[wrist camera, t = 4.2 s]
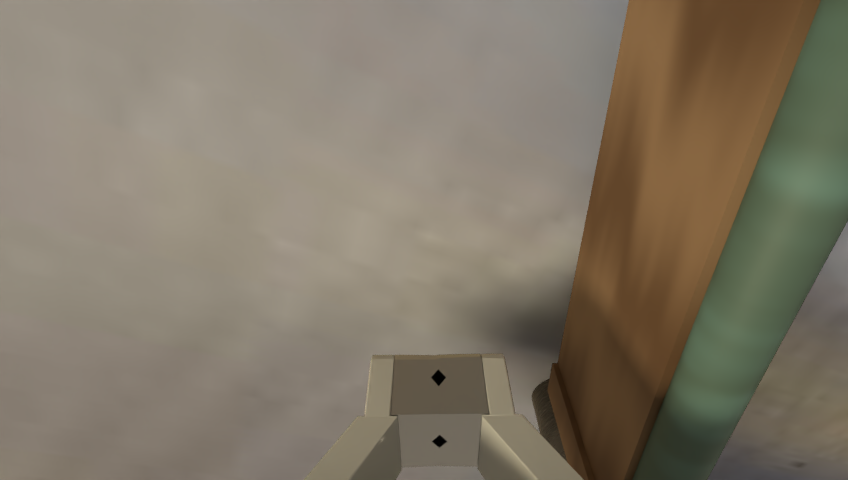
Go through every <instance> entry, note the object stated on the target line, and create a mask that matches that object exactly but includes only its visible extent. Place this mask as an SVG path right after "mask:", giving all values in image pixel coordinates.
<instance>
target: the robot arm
mask: <svg viewBox="0 0 848 480" xmlns="http://www.w3.org/2000/svg"><path fill="white" fill-rule="evenodd" d="M439 464H440V466H478V470H479V471H480V473H481V474H482V476H483V477H484V479H485V480H584V479H583V478H582V477H581V476H580V475H579V474H578V473H577V472H576V471H575V470H574V469H573V468H572V467H571V466H570V465H569V464H568V463H567V461H566V460H565V459H564V458H563V457H562V456H561V455H560V454H559V453H558V452H557V451H556V450H555V449H554V448H553V447H552V446H551V445H550V443H549V442H548V441H547V440H546V439H545V438H544V437H543V436H542V435H541V434H540V433H539V432H538V431H537V430H536V429H535V428H534V427H533V425H532V424H531V423H530V422H529V421H528V420H527V419H526V418H525V417H524V416H523V415H519V414H515V409H514V404H513V399H512V393H511V388H510V383H509V378H508V372H507V367H506V362H505V357H504V355H503V354H481V355H480V354H447V355H373V356H372V359H371V363H370V372H369V380H368V389H367V398H366V406H365V415H364V416H358V417H357V418H356V419H355V420H354V421H353V423H352V424H351V425H350V426H349V427H348V429H347V430H346V431H345V432H344V433H343V434H342V436H341V437H340V438H339V439H338V440H337V441H336V443H335V444H334V445H333V446H332V447H331V449H330V450H329V451H328V452H327V453H326V454H325V456H324V457H323V458H322V459H321V460H320V461H319V463H318V464H317V465H316V466H315V467H314V469H313V470H312V471H311V472H310V473H309V474H308V476H307V477H306V478H305V479H304V480H396V478H397V477H398V475H399V473H400V472H401V467H423V466H439Z"/></svg>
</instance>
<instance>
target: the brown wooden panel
mask: <svg viewBox="0 0 848 480" xmlns="http://www.w3.org/2000/svg"><path fill="white" fill-rule="evenodd" d="M847 221H848V0H629V4H628V9H627V14H626V19H625V24H624V29H623V34H622V39H621V44H620V49H619V54H618V59H617V64H616V70H615V75H614V80H613V85H612V90H611V95H610V100H609V105H608V110H607V115H606V120H605V125H604V130H603V135H602V141H601V146H600V151H599V156H598V161H597V166H596V171H595V176H594V181H593V186H592V191H591V196H590V201H589V207H588V212H587V217H586V222H585V227H584V232H583V237H582V242H581V247H580V252H579V257H578V262H577V267H576V272H575V278H574V283H573V288H572V293H571V298H570V303H569V308H568V313H567V318H566V323H565V328H564V333H563V338H562V343H561V349H560V354H559V359H558V363H552V369H551V374H550V379H549V385H548V390H547V391H548V394H549V398H550V401H551V405H552V409H553V412H554V416H555V419H556V423H557V427H558V430H559V434H560V437H561V441H562V445H563V448H564V452H565V455H566V459H567V463H568V464H569V465H570V466H571V467H572V468H573V469H574V470H575V471H576V472H577V473H578V474H579V475H580V476H581V477H582V478H583V479H584V480H707V479H708V477H709V475H710V473H711V471H712V469H713V468H714V466H715V464H716V462H717V460H718V458H719V456H720V455H721V453H722V451H723V449H724V447H725V445H726V444H727V442H728V440H729V438H730V436H731V434H732V433H733V431H734V429H735V427H736V425H737V423H738V422H739V420H740V418H741V416H742V414H743V412H744V410H745V409H746V407H747V405H748V403H749V401H750V399H751V398H752V396H753V394H754V392H755V390H756V388H757V387H758V385H759V383H760V381H761V379H762V377H763V375H764V374H765V372H766V370H767V368H768V366H769V364H770V363H771V361H772V359H773V357H774V355H775V353H776V352H777V350H778V348H779V346H780V344H781V342H782V341H783V339H784V337H785V335H786V333H787V331H788V329H789V328H790V326H791V324H792V322H793V320H794V318H795V317H796V315H797V313H798V311H799V309H800V307H801V306H802V304H803V302H804V300H805V298H806V296H807V294H808V293H809V291H810V289H811V287H812V285H813V283H814V282H815V280H816V278H817V276H818V274H819V272H820V271H821V269H822V267H823V265H824V263H825V261H826V260H827V258H828V256H829V254H830V252H831V250H832V248H833V247H834V245H835V243H836V241H837V239H838V237H839V236H840V234H841V232H842V230H843V228H844V226H845V225H846V223H847Z"/></svg>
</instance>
